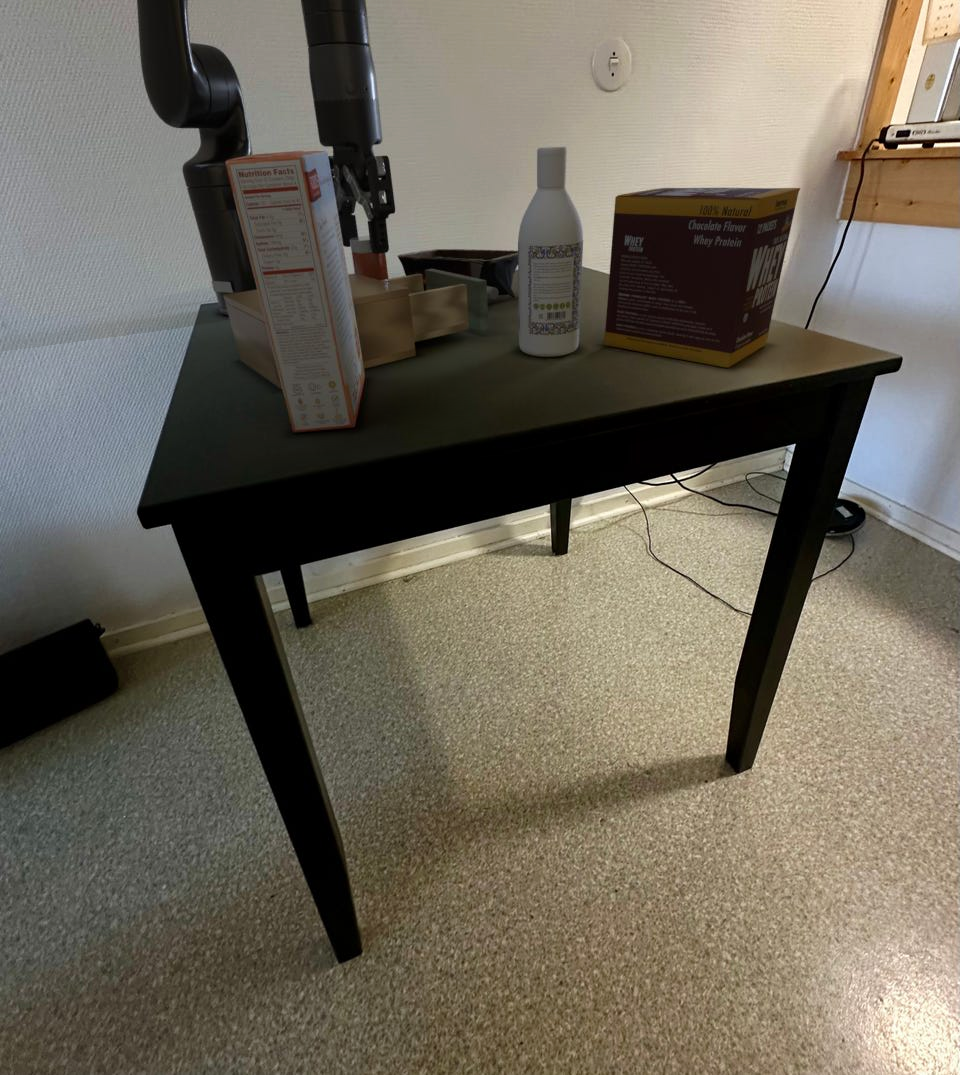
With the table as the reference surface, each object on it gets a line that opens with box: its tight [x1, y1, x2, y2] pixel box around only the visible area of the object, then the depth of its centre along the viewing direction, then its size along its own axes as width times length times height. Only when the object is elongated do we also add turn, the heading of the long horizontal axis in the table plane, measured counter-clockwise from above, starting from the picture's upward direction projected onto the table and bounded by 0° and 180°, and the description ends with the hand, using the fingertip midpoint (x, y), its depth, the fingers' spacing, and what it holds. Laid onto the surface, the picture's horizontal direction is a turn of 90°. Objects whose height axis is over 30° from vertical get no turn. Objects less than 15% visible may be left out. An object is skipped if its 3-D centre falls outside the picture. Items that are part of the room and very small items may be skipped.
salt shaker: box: [350, 235, 389, 280], centre depth 82 cm, size 4×4×11 cm
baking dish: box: [397, 248, 518, 299], centre depth 91 cm, size 14×18×10 cm
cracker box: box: [225, 150, 366, 433], centre depth 53 cm, size 14×6×21 cm, turn 5°
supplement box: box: [603, 187, 801, 369], centre depth 65 cm, size 10×15×16 cm
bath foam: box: [517, 146, 584, 358], centre depth 65 cm, size 7×7×20 cm
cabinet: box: [224, 273, 417, 390], centre depth 70 cm, size 17×14×8 cm
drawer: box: [381, 269, 499, 343], centre depth 76 cm, size 20×12×6 cm, turn 126°
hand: (365, 249), depth 79 cm, fingers open, 8 cm apart
